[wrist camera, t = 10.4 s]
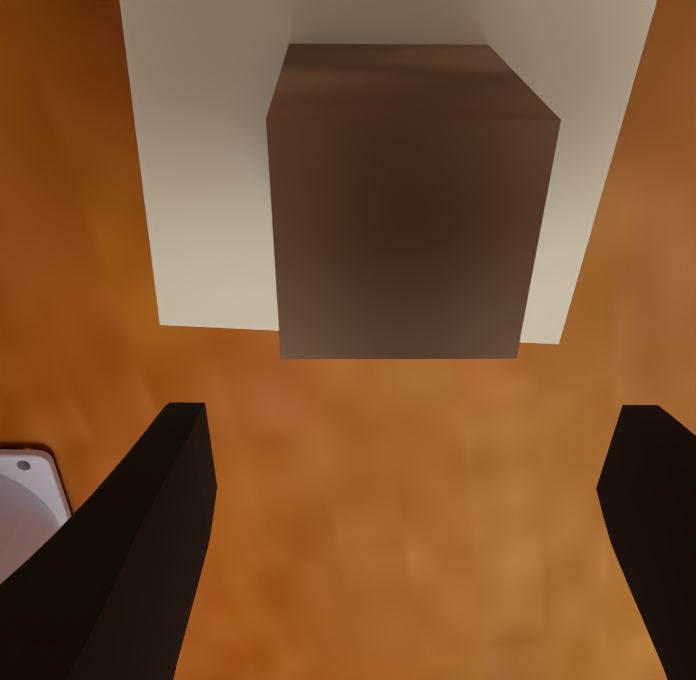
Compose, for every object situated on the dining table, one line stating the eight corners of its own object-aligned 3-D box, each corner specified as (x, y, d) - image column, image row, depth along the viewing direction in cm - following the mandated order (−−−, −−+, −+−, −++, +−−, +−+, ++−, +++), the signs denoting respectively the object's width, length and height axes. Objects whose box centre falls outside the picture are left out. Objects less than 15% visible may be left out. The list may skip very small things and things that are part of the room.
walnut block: (296, 228, 18) (280, 359, 13) (289, 43, 15) (266, 118, 10) (466, 227, 18) (516, 358, 13) (488, 44, 15) (561, 120, 10)
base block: (181, 275, 22) (159, 324, 20) (136, -177, 15) (95, -190, 13) (535, 293, 22) (558, 344, 20) (644, -142, 16) (699, -147, 13)
